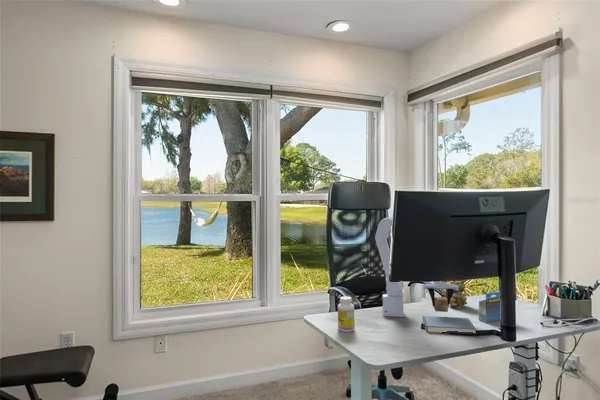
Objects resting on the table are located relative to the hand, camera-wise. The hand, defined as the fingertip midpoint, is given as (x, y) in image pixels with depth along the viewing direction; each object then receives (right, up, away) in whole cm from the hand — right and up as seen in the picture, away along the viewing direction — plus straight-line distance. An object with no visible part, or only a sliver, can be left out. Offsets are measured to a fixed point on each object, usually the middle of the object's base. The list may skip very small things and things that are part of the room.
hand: (440, 306), depth 159 cm
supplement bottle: (-42, -7, -11) cm, 44 cm away
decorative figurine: (+15, -6, +19) cm, 25 cm away
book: (-1, -6, -11) cm, 13 cm away
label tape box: (+20, -6, -3) cm, 21 cm away
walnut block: (0, -2, 0) cm, 2 cm away
